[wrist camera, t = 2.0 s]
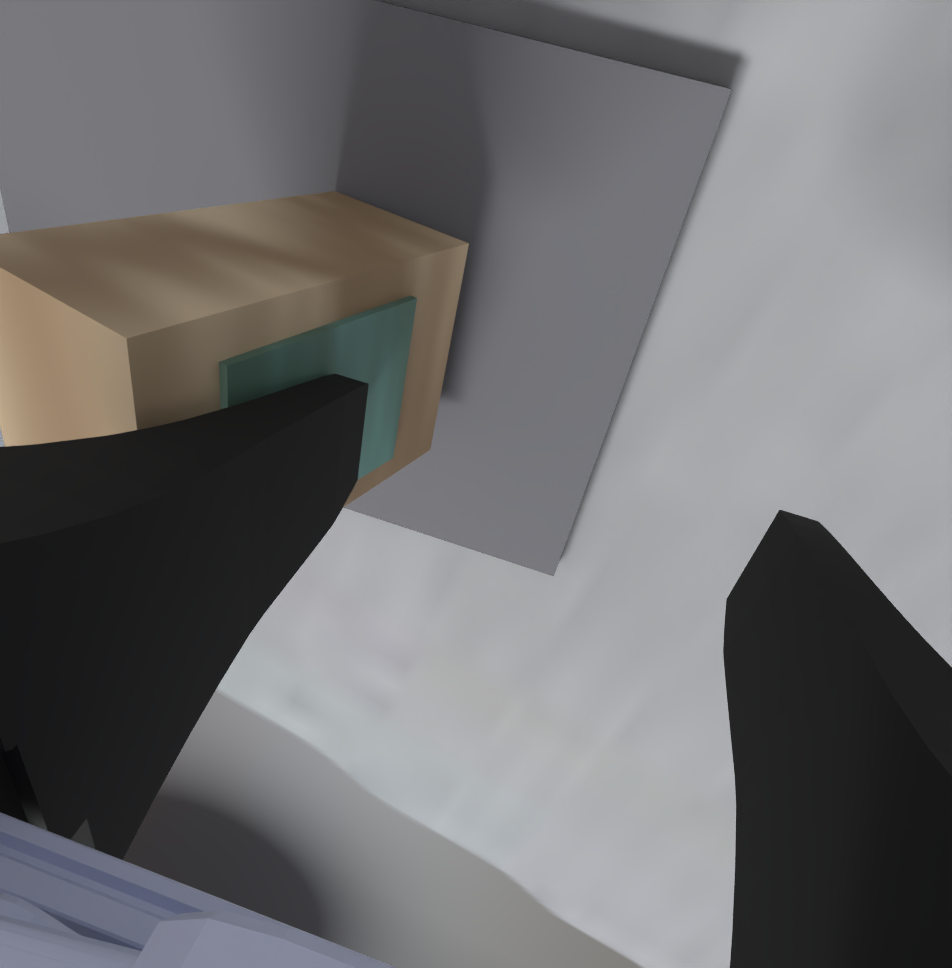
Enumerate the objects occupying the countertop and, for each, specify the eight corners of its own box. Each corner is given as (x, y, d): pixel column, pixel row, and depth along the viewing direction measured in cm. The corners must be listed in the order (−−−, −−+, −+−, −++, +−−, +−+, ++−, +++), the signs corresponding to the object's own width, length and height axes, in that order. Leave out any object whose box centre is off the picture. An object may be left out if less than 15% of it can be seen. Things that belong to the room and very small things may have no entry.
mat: (730, 88, 12) (732, 89, 12) (556, 564, 19) (553, 576, 19) (-39, -103, 14) (-61, -108, 13) (58, 403, 21) (46, 409, 20)
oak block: (475, 245, 13) (135, 343, 8) (435, 452, 16) (167, 633, 10) (335, 190, 14) (-48, 240, 9) (320, 392, 17) (25, 526, 12)
